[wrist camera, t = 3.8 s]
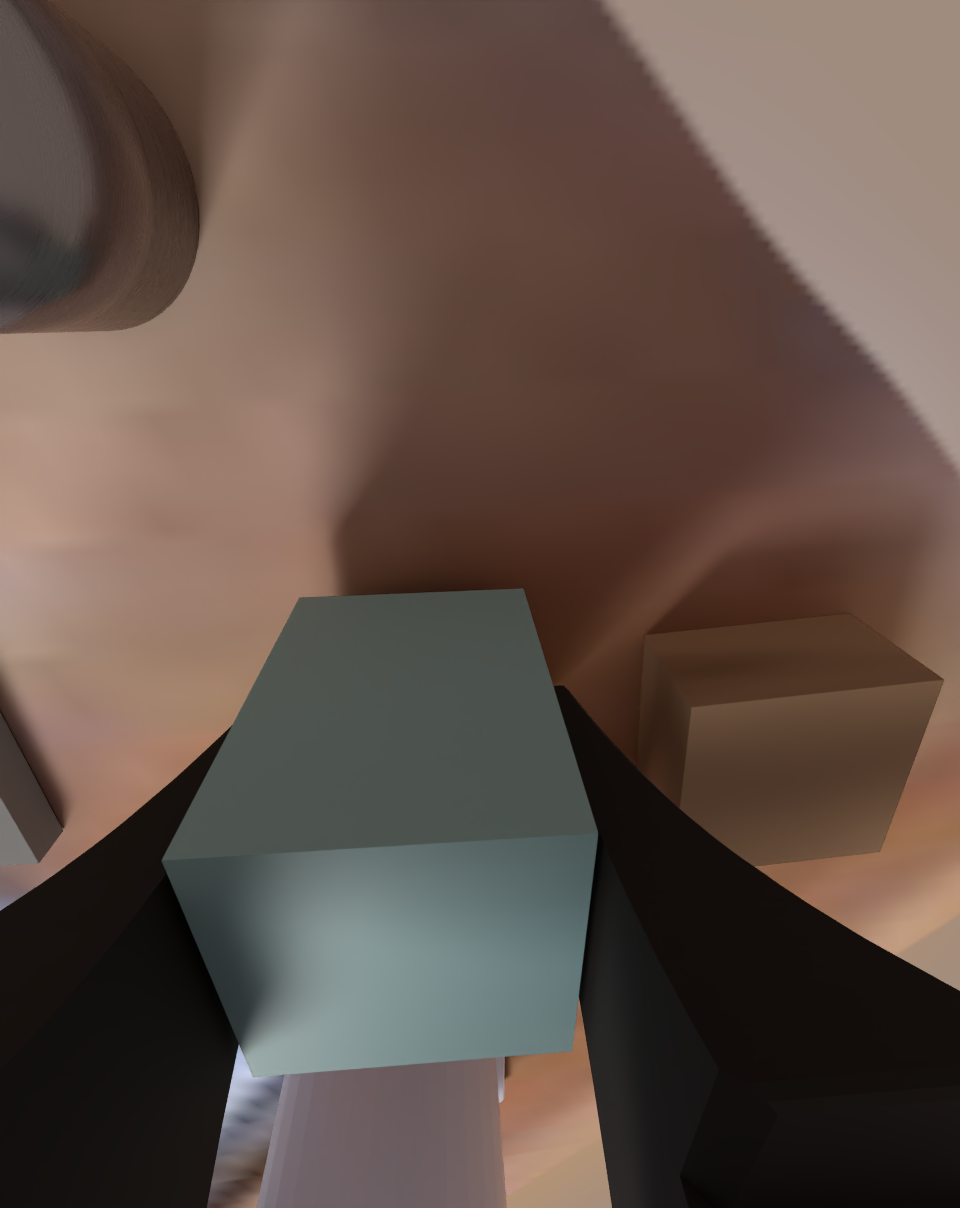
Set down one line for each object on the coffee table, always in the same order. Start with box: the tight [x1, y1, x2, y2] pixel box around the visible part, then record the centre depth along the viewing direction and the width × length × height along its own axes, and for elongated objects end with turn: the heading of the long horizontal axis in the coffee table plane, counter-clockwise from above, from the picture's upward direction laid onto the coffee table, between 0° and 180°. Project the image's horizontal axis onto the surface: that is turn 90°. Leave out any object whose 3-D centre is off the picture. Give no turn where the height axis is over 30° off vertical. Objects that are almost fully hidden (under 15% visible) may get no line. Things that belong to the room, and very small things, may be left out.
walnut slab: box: [636, 613, 944, 866], centre depth 13 cm, size 5×5×3 cm
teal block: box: [162, 589, 598, 1077], centre depth 9 cm, size 4×4×6 cm
